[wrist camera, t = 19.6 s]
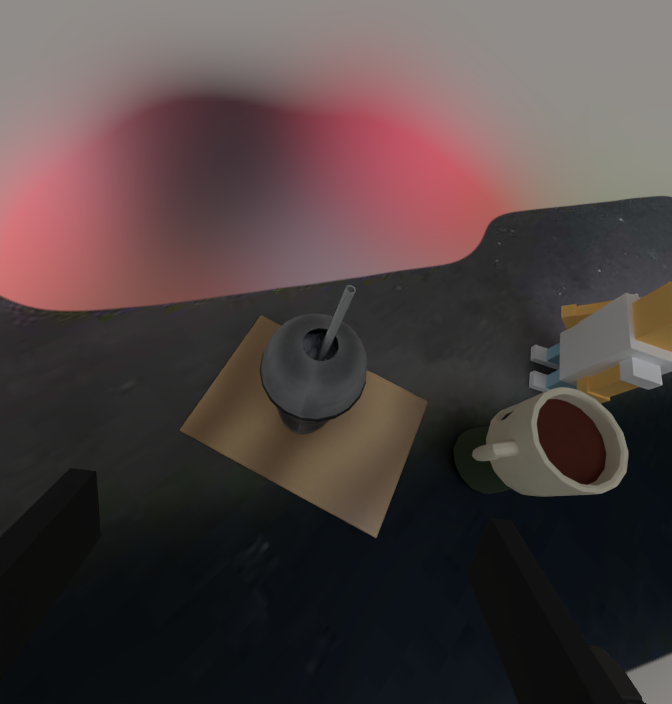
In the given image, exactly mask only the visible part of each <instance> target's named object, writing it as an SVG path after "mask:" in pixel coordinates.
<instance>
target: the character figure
mask: <svg viewBox="0 0 672 704" xmlns="http://www.w3.org/2000/svg"><path fill="white" fill-rule="evenodd" d="M561 318H562V320H563V322H564V325H565V327H566V330H565V331H563V332H562V333H560V342H559V343H557V344H556V345H554V346H552V347H551V348H549V349H547V348H544V347H541V346H538V345H534V346H532V347H531V358H530V361H533V362H536V363H538V364H541V365H544V366H547V367H550V368H553V369H556V370H557V371H555V372H553V373H551V374H549V375H546V374H543V373H540V372H537V371H532V372H530V376H529V388H532V389H535V390H538V391H541V392H546V391H548V390H551V389H554V388H559V387H566V388H572V389H576V390H580V391H582V392H584V393H585V394H587V395H589V396H591V397H593V398H594V399H596V400H597V401H598V402H599V403H600V404H601V403H604V402H607V401H610V396H613V395H616V394H619V393H622V392H625V391H628V390H631V389H634V388H637V387H642V388H645V389H648V390H649V389H652V388H655V387H658V386H662V377H661V375H663V374H666V373H669V372H671V371H672V281H670V282H669V283H667V284H665V285H663V286H662V287H660V288H658V289H656V290H655V291H653V292H651V293H649V294H648V295H646V296H644V297H642V298H640V297H639V296H638V294H632V295H631V294H628V293H625V294H623V295H622V296H620V297H618V298H617V299H615V300H613V301H606V302H600V303H594V304H588V305H581V306H577V305H576V304H572V305H566V306H561Z"/></svg>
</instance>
